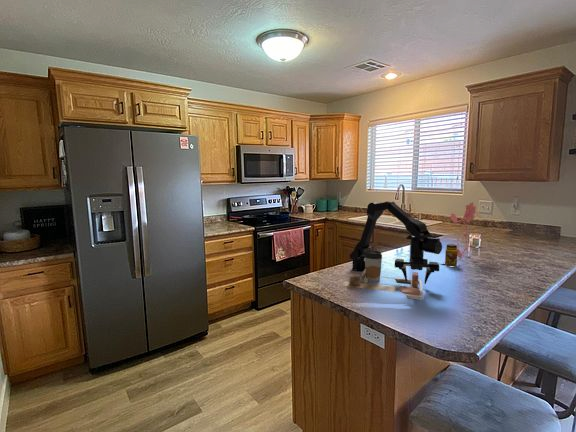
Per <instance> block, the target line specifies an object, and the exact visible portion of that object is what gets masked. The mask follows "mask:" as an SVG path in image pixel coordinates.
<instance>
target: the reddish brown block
mask: <svg viewBox="0 0 576 432" xmlns="http://www.w3.org/2000/svg"><path fill="white" fill-rule="evenodd" d="M417 289H418V288H400V287H399V289H398V290H400V292H401V293H402V294H404V295H405V294H410V295H418V296H420V293H419V291H418V290H417Z"/></svg>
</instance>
